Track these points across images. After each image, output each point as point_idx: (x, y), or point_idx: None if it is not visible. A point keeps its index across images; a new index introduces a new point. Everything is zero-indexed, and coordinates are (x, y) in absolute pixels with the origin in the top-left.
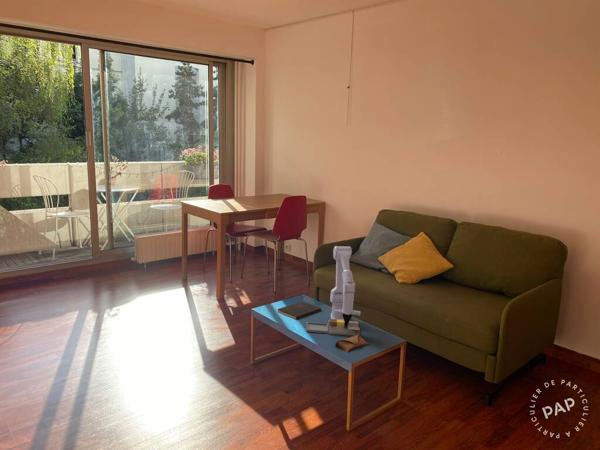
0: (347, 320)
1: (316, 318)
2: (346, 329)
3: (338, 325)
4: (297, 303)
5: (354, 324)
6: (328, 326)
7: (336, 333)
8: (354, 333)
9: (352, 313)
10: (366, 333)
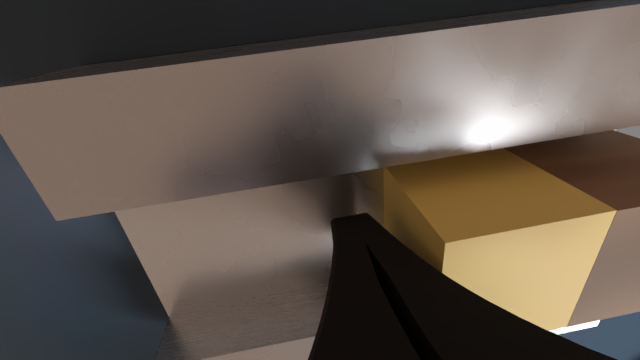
0: (386, 317)
1: (592, 347)
2: (353, 39)
3: (515, 177)
4: None
5: (222, 335)
6: None
7: (499, 14)
8: (163, 59)
9: None
10: (9, 213)
